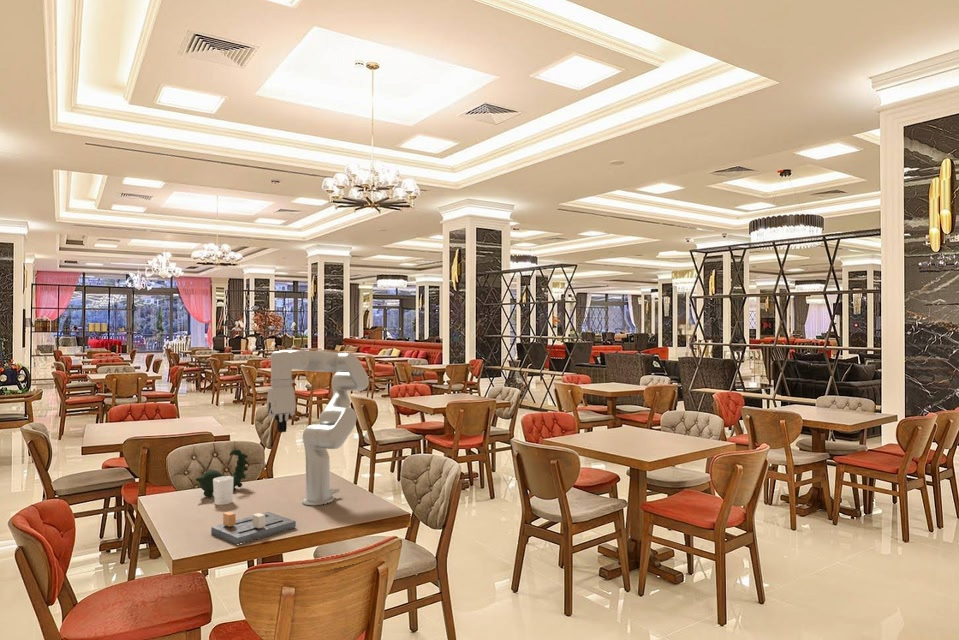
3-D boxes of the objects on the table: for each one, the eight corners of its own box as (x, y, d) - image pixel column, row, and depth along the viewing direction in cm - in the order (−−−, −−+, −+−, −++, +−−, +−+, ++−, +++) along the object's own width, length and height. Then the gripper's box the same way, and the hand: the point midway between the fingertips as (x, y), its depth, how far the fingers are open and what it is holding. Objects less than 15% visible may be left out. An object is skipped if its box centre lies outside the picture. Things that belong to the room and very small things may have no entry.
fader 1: (229, 525, 220) (229, 511, 220) (235, 528, 217) (235, 513, 217) (223, 527, 218) (223, 513, 218) (229, 529, 216) (228, 515, 216)
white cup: (237, 500, 259) (237, 476, 259) (227, 505, 251) (227, 481, 251) (219, 499, 260) (219, 476, 260) (209, 505, 252) (209, 480, 252)
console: (268, 518, 234) (268, 511, 234) (295, 528, 222) (295, 520, 222) (211, 534, 217) (211, 526, 217) (237, 545, 205) (237, 537, 205)
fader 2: (259, 527, 218) (258, 512, 218) (265, 529, 215) (265, 515, 215) (252, 529, 216) (252, 514, 216) (258, 531, 213) (258, 516, 213)
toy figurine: (236, 489, 283) (187, 498, 261) (238, 447, 284) (190, 452, 263) (250, 491, 278) (201, 501, 257) (253, 449, 280) (204, 454, 258)
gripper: (293, 381, 245) (293, 428, 244) (258, 384, 233) (258, 433, 233) (304, 382, 240) (304, 430, 240) (269, 385, 228) (269, 435, 228)
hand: (282, 431), depth 236 cm, fingers closed
